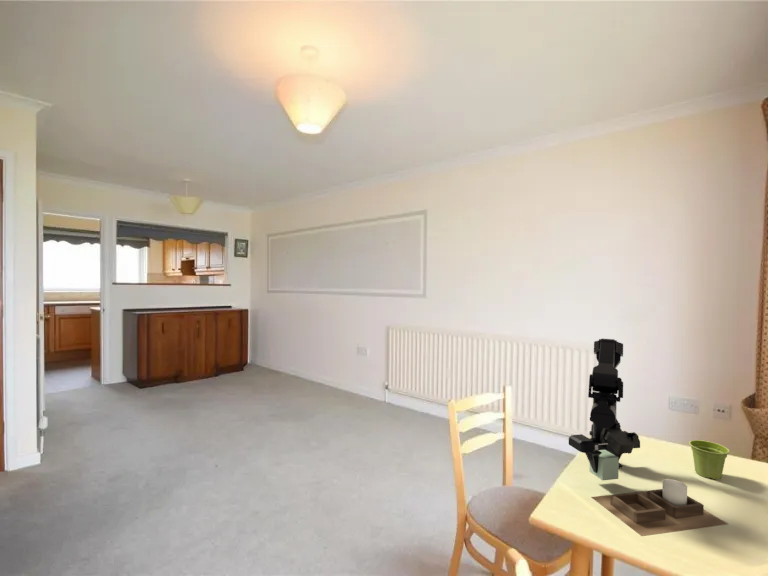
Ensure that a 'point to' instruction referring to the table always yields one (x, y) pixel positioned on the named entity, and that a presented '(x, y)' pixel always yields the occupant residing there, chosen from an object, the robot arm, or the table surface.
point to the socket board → (657, 512)
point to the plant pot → (708, 458)
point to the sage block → (607, 466)
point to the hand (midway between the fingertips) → (603, 471)
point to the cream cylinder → (674, 492)
